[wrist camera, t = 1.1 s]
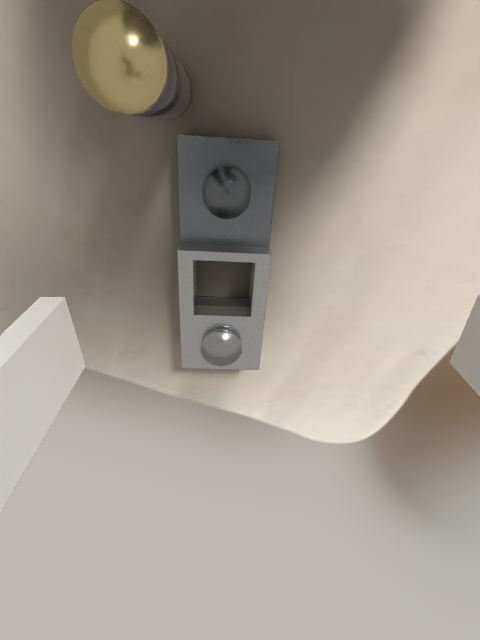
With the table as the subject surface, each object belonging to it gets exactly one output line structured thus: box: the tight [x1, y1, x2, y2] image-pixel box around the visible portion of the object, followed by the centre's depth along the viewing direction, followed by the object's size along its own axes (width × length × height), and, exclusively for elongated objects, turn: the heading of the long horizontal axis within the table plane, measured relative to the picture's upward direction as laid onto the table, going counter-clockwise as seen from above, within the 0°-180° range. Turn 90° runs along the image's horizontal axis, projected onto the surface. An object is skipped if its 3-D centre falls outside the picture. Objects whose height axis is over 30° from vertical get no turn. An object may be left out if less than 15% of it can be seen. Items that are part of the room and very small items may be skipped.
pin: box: [71, 0, 191, 119], centre depth 20 cm, size 4×4×13 cm
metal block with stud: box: [177, 134, 280, 370], centre depth 31 cm, size 21×8×5 cm, turn 177°
